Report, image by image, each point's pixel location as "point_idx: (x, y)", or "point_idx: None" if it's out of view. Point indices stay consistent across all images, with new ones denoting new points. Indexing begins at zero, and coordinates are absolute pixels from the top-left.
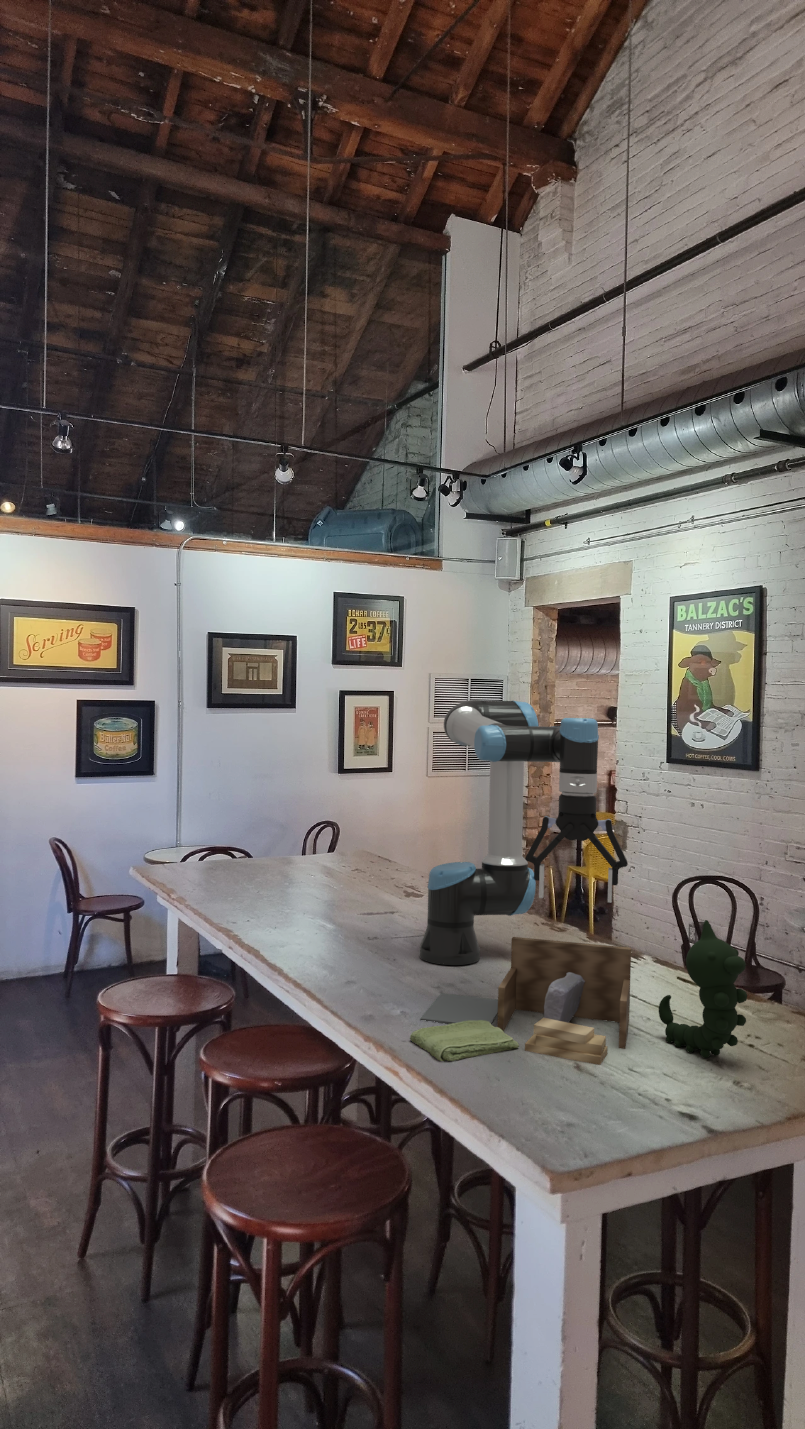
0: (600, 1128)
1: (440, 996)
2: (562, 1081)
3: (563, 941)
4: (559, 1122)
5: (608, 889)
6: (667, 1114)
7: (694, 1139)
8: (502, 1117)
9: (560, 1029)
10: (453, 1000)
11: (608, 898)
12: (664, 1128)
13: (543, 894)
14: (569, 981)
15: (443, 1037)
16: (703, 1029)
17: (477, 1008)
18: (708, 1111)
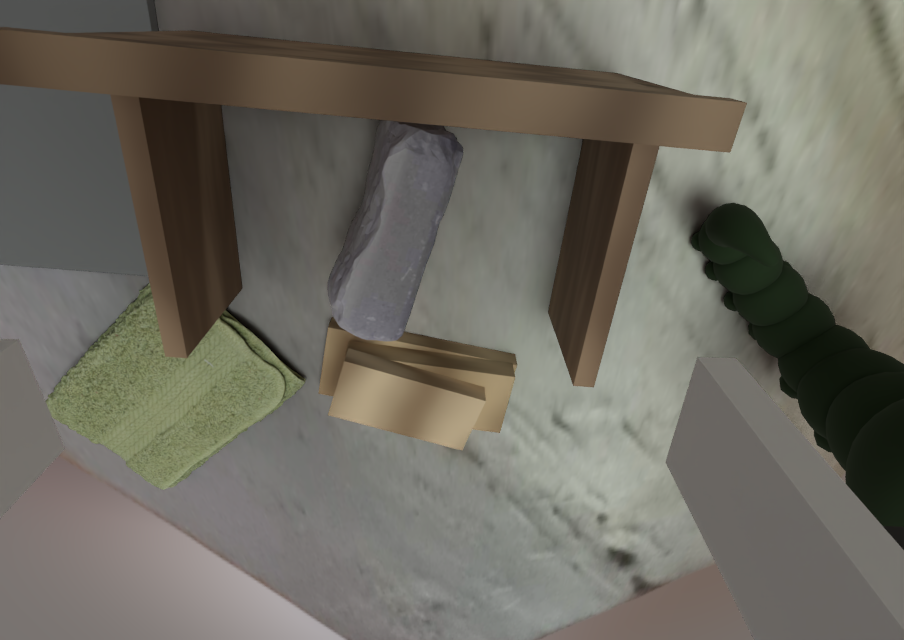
0: (480, 607)
1: None
2: (418, 494)
3: (326, 62)
4: (422, 604)
5: (724, 568)
6: (588, 559)
7: (609, 608)
8: (340, 607)
9: (399, 428)
10: None
11: (686, 489)
12: (573, 592)
13: (16, 371)
14: (401, 255)
15: (132, 441)
16: (786, 374)
17: (91, 116)
18: (660, 540)
